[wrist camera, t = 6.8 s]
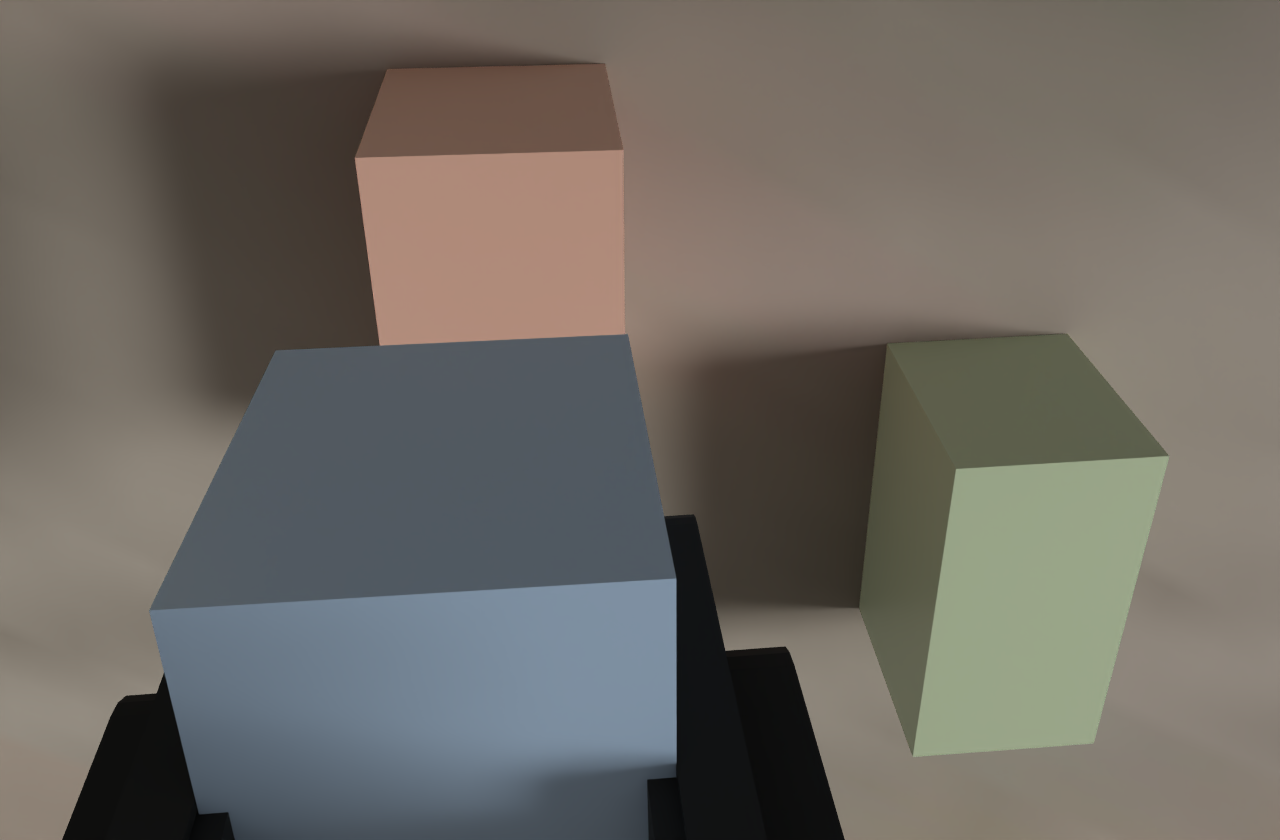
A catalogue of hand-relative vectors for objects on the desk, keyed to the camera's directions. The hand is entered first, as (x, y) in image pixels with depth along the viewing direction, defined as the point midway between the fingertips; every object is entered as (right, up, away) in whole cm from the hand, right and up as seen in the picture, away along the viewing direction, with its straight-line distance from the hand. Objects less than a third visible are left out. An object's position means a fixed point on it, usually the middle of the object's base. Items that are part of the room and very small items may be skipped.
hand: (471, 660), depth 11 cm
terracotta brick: (-1, +5, +8) cm, 9 cm away
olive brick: (+8, +1, +11) cm, 13 cm away
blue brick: (0, 0, +1) cm, 1 cm away
